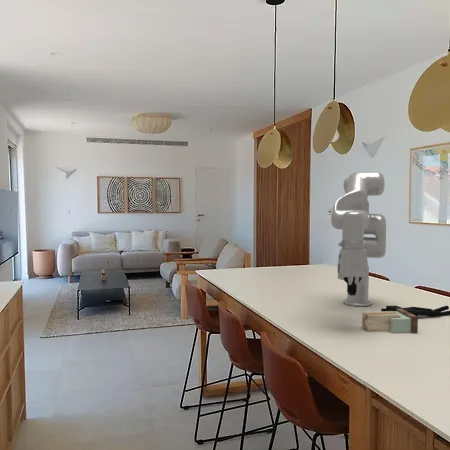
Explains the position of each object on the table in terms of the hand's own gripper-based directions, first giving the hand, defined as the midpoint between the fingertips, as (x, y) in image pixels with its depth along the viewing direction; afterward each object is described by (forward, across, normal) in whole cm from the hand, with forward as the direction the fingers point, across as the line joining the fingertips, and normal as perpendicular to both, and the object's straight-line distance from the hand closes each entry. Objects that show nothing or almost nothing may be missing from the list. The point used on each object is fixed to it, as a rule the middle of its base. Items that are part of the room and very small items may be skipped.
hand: (351, 294), depth 157 cm
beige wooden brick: (+13, +11, -1) cm, 17 cm away
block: (+13, +16, -1) cm, 21 cm away
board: (+14, +8, +1) cm, 16 cm away
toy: (+15, +37, +18) cm, 44 cm away
